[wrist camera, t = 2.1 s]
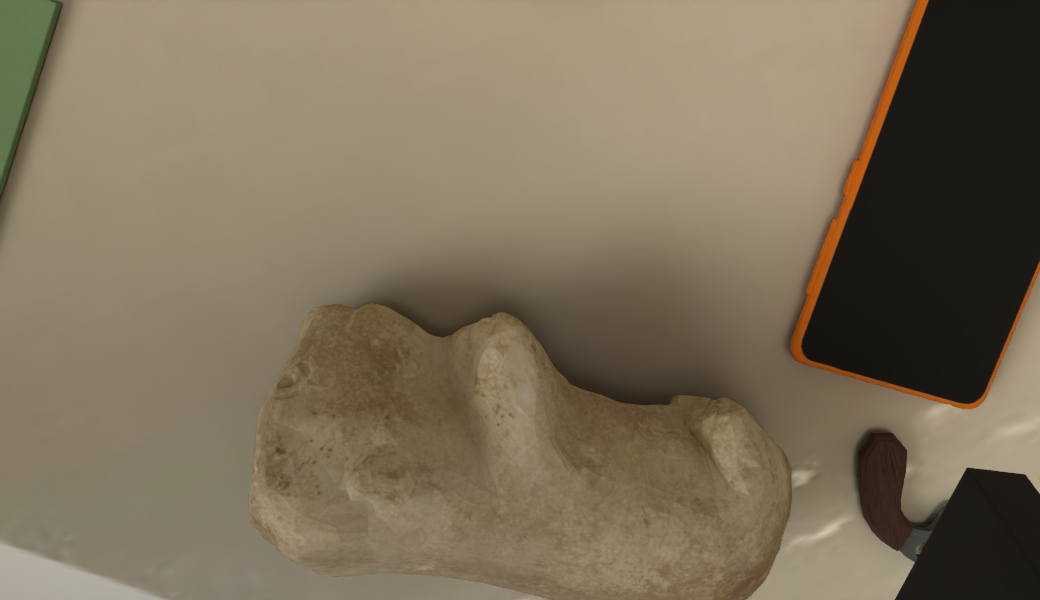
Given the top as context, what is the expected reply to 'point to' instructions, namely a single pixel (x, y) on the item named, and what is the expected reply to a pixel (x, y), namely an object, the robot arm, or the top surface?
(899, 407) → the top surface
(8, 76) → the cloth
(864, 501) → the knife
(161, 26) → the top surface
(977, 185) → the smartphone
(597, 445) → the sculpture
